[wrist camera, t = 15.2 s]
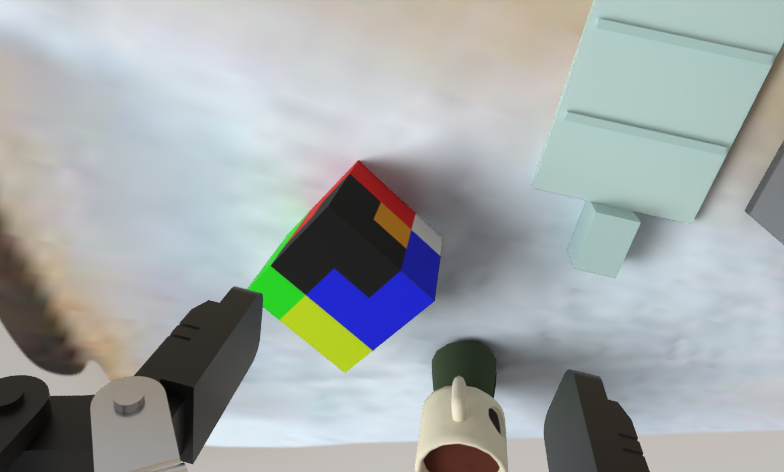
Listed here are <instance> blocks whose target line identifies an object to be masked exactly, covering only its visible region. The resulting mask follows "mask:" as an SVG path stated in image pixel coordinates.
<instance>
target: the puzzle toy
mask: <svg viewBox="0 0 784 472" xmlns="http://www.w3.org/2000/svg"><path fill="white" fill-rule="evenodd" d="M442 243H443V238H442V237H441V236H440V235H439V234H437V233H436V232H435V231H434V230H433V229H432V228H431V227H430V226H429V225H428V224H427V223H426V222H424V221H423V220H422V219H421V218H420V217H419V216H418V215H417V214H416V213H415V212H414V211H413V210H411V209H410V208H409V207H408V206H407V205H406V204H405V203H404V202H403V201H402V200H401V199H400V198H398V197H397V196H396V195H395V194H394V193H393V192H392V191H391V190H390V189H389V188H388V187H387V186H385V185H384V184H383V183H382V182H381V181H380V180H379V179H378V178H377V177H376V176H375V175H374V174H372V173H371V172H370V171H369V170H368V169H367V168H366V167H365V166H364V165H363V164H362V163H361V162H359V161H357V162H356V163H355V164H354V165H353V166H352V167H351V169H350V170H349V171H348V172H347V173H346V174H345V175H344V176H343V177H342V178H341V179H340V180H339V181H338V182H337V183H336V184H335V185H334V186H333V187H332V189H331V190H330V191H329V192H328V193H327V194H326V195H325V196H324V197H323V198H322V199H321V200H320V201H319V202H318V203H317V204H316V205H315V206H314V207H313V209H312V210H311V211H310V212H309V213H308V214H307V215H306V216H305V217H304V218H303V219H302V220H301V221H300V222H299V223H298V224H297V225H296V226H295V227H294V229H293V230H292V231H291V232H290V233H289V234H288V235H287V236H286V238H285V239H284V240H283V242H282V243H281V244H280V246H279V247H278V248H277V250H276V251H275V252H274V254H273V255H272V256H271V258H270V259H269V260H268V262H267V263H266V265H265V266H264V267H263V269H262V270H261V271H260V273H259V274H258V275H257V277H256V278H255V279H254V281H253V282H252V283H251V285H250V286H249V287H248V289H247V290H251V291H255V292H260V293H262V294H263V307H264V308H265V309H266V310H267V311H269V312H270V313H271V314H272V315H274V316H275V317H276V318H277V319H279V320H280V321H281V322H282V323H284V324H285V325H286V326H287V327H289V328H290V329H291V330H292V331H294V332H295V333H296V334H297V335H298V336H300V337H301V338H302V339H303V340H305V341H306V342H307V343H308V344H310V345H311V346H312V347H313V348H315V349H316V350H317V351H318V352H320V353H321V354H322V355H323V356H325V357H326V358H327V359H328V360H330V361H331V362H332V363H333V364H335V365H336V366H337V367H338V368H339V369H341V370H342V371H343V372H344V373H346V372H347V371H348V370H349V369H350V368H352V367H353V366H354V365H355V364H357V363H358V362H359V361H360V360H362V359H363V358H364V357H365V356H367V355H368V354H369V353H370V352H372V351H373V350H374V349H375V348H377V347H378V346H379V345H380V344H382V343H383V342H384V341H385V340H387V339H388V338H389V337H390V336H392V335H393V334H394V333H395V332H397V331H398V330H399V329H400V328H402V327H403V326H404V325H405V324H407V323H408V322H409V321H410V320H412V319H413V318H414V317H415V316H417V315H418V314H419V313H420V312H422V311H423V310H424V309H425V308H427V307H428V306H429V305H430V304H432V303H433V302H434V301H435V295H436V287H437V280H438V272H439V265H440V258H441V250H442Z"/></svg>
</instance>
